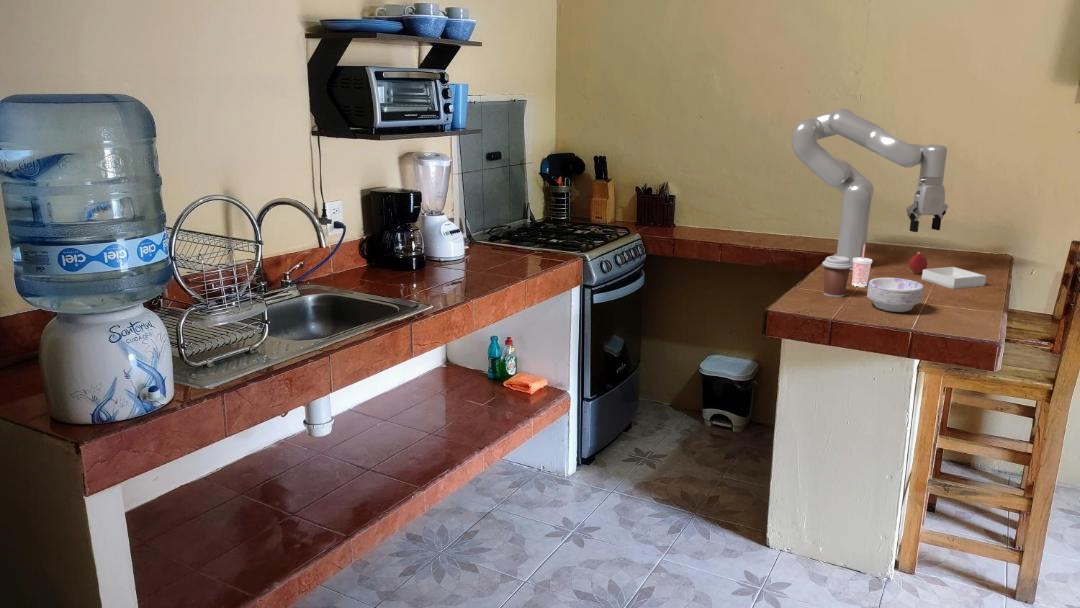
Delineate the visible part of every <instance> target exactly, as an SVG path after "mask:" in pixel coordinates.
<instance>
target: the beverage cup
mask: <svg viewBox="0 0 1080 608" xmlns="http://www.w3.org/2000/svg"><path fill="white" fill-rule="evenodd" d="M864 251H865V252H866V247H865V245H864V247H863V254H862V258H861V257H857V258H853V270H852V280H851V285H852V286H853V285H854V286H853V287H856V286H859V287H858V288H866V287H868V283H869V278H870V277H869V276H870V273H871V268H872V267H871V265H872V263H873V259H871V258H867V257H865V255H864ZM865 286H866V287H865Z"/></svg>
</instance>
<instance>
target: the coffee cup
mask: <svg viewBox="0 0 1080 608" xmlns="http://www.w3.org/2000/svg"><path fill="white" fill-rule="evenodd" d="M825 259H826V260H825ZM825 259H824V261H822V265H821V266H823V267H824V268H823V295H824V296H826V297H829V296H830V297H831V298H844V297H845V293H846V290H847V289H846V288H847V285H848V281H849V276H850V271H851V270H850V268H852V267H853V264H851V262H850V259H849V258H846V257H842V256H834V255H829V256H827V257H825ZM843 296H844V297H843Z"/></svg>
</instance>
